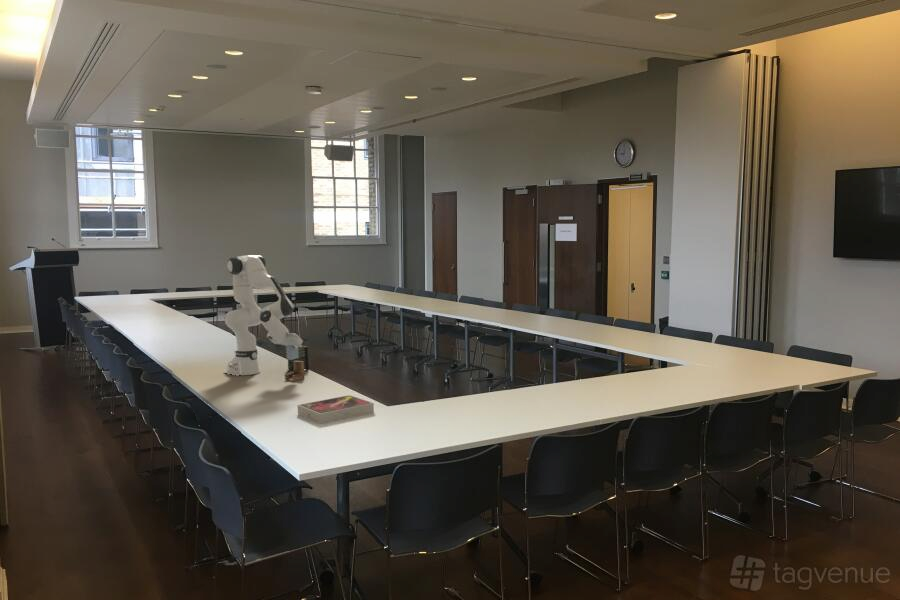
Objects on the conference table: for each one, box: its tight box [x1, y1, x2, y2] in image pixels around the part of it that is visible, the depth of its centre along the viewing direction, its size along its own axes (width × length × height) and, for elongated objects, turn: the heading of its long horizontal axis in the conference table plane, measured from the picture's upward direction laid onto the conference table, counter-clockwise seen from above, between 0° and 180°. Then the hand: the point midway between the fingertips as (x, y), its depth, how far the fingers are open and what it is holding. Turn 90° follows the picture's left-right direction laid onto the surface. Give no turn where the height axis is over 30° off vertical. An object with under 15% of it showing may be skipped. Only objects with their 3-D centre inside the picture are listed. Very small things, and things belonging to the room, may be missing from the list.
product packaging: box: [297, 394, 375, 425], centre depth 336 cm, size 22×28×5 cm
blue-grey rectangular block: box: [285, 345, 299, 361], centre depth 408 cm, size 4×6×12 cm, turn 151°
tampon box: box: [287, 344, 310, 372], centre depth 437 cm, size 11×9×15 cm
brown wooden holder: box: [284, 361, 305, 382], centre depth 410 cm, size 6×9×10 cm
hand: (292, 347), depth 408 cm, fingers closed on blue-grey rectangular block, 3 cm apart
